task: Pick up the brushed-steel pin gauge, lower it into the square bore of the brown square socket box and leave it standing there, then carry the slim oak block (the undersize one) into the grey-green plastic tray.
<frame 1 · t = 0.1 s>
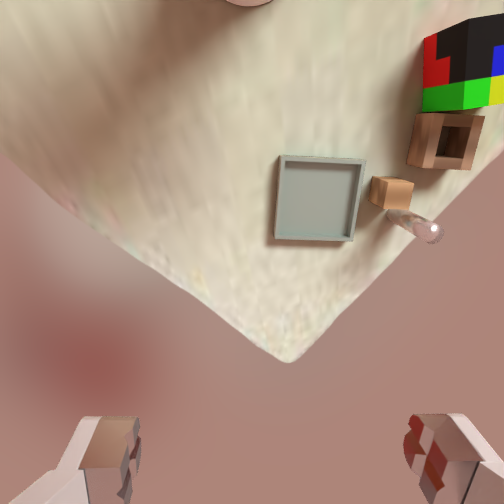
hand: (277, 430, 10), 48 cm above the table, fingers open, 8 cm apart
brown square socket box: (433, 140, 55), on the table
oak block: (382, 189, 57), on the table
pin gauge: (394, 213, 59), on the table
tray: (315, 198, 57), on the table
puzzle toy: (454, 71, 52), on the table
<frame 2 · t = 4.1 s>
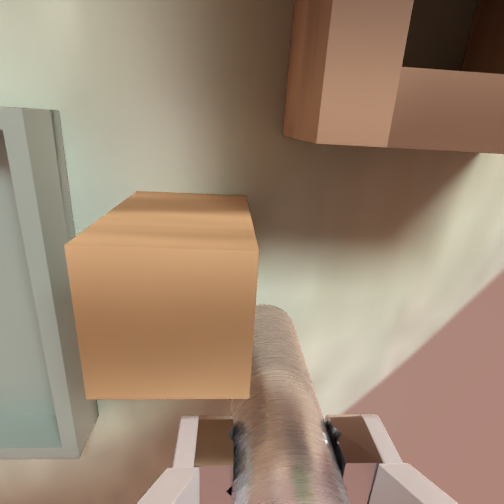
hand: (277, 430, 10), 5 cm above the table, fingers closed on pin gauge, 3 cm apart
brown square socket box: (408, 19, 11), on the table
oak block: (192, 244, 13), on the table
pin gauge: (262, 332, 15), on the table, touching gripper
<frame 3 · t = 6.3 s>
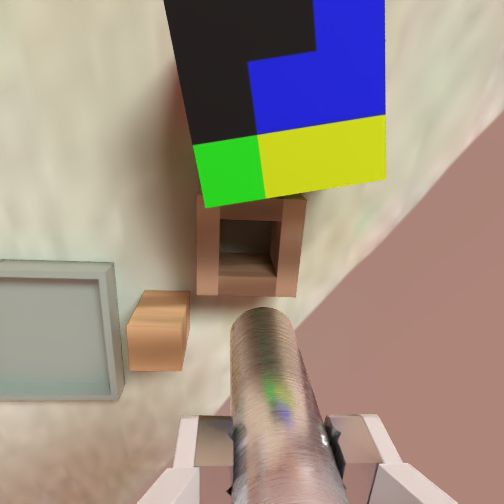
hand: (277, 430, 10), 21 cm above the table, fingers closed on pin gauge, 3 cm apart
brown square socket box: (246, 229, 30), on the table
oak block: (167, 309, 32), on the table
pin gauge: (261, 335, 15), point 16 cm above the table, touching gripper
tray: (46, 326, 32), on the table
puzzle toy: (265, 104, 26), on the table
when the fingers open (8 cm above the table, at t = 8.8 s): pin gauge drops 2 cm, resting in brown square socket box.
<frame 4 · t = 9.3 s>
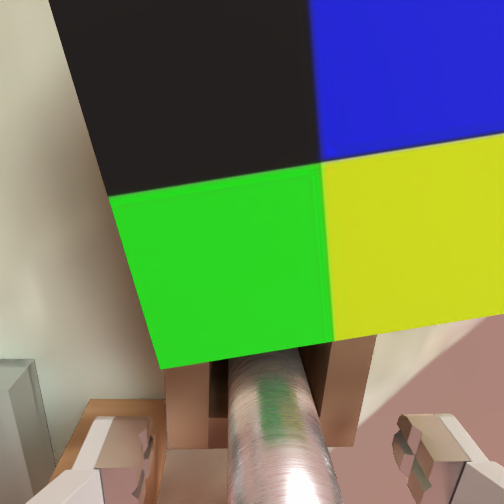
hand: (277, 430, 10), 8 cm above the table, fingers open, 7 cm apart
brown square socket box: (258, 304, 17), on the table
oak block: (130, 426, 20), on the table
pin gauge: (256, 307, 17), resting in brown square socket box
puzzle toy: (296, 89, 14), on the table
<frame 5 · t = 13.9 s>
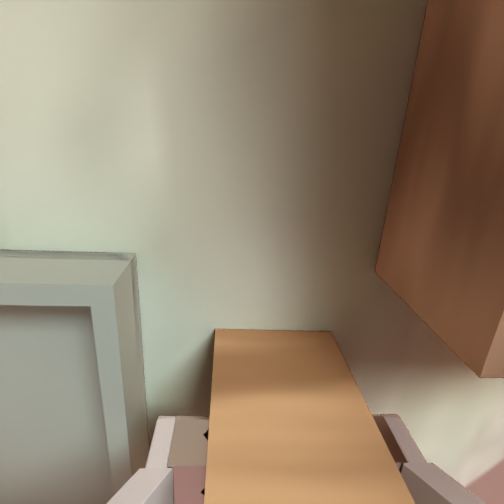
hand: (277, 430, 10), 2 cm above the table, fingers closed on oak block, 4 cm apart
oak block: (268, 377, 12), on the table, touching gripper
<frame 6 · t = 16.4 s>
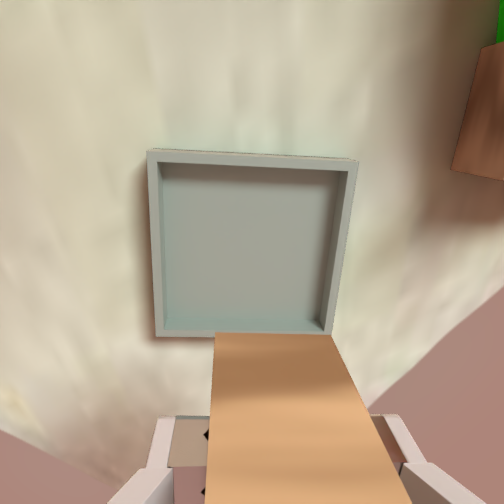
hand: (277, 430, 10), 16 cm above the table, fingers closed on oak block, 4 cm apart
oak block: (268, 380, 12), point 14 cm above the table, touching gripper
tray: (248, 245, 26), on the table
when the fingers open (5 cm above the table, at t = 18.8 s): oak block drops 2 cm, resting on tray.
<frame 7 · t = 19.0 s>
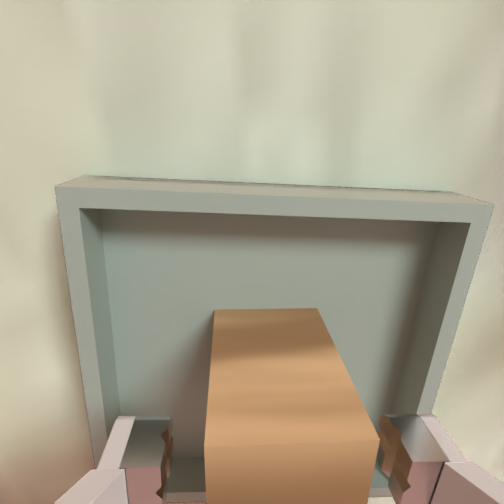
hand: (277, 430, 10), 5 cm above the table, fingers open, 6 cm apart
oak block: (264, 351, 14), point 1 cm above the table, touching tray
tray: (263, 340, 15), on the table
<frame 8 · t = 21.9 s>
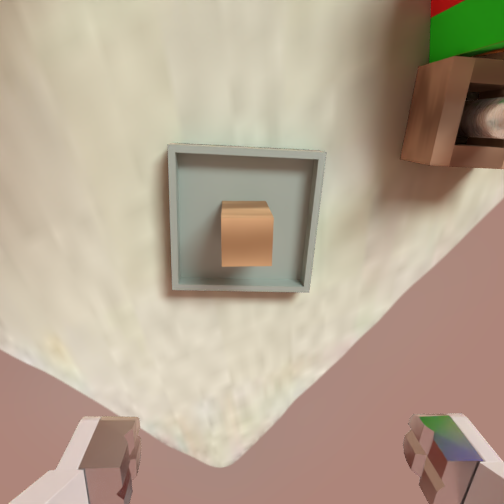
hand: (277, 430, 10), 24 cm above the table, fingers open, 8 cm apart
brown square socket box: (449, 117, 31), on the table
oak block: (244, 221, 32), point 1 cm above the table, touching tray
pin gauge: (448, 119, 31), resting in brown square socket box
tray: (243, 218, 33), on the table
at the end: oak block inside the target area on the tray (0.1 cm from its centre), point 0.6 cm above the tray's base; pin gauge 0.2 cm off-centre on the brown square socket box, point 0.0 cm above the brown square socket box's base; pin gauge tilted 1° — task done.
